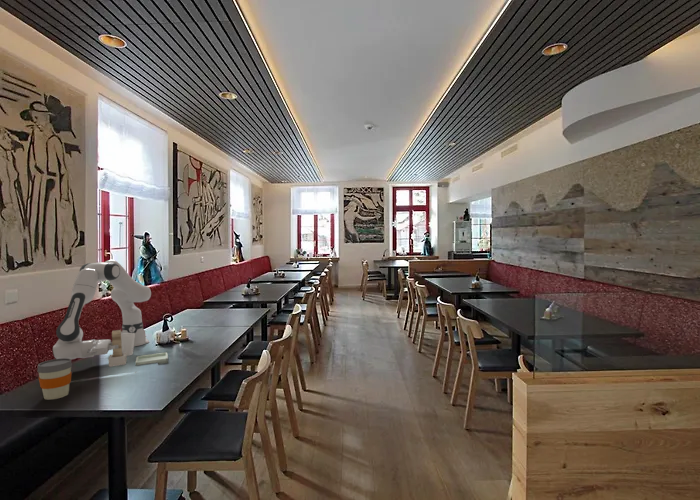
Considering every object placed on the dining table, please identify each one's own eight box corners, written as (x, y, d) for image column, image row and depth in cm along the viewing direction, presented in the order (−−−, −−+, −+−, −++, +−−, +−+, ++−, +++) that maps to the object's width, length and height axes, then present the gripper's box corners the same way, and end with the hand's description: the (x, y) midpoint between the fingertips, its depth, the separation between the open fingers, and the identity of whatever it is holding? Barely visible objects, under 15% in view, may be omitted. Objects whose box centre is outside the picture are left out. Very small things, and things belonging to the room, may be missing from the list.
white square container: (110, 364, 231) (110, 354, 231) (126, 362, 234) (126, 352, 234) (108, 368, 224) (108, 358, 223) (125, 366, 227) (125, 356, 227)
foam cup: (127, 358, 241) (126, 336, 240) (113, 358, 243) (112, 336, 242) (139, 354, 250) (138, 332, 250) (125, 353, 252) (124, 332, 252)
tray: (136, 360, 237) (136, 356, 237) (167, 356, 244) (167, 352, 244) (135, 367, 224) (135, 362, 224) (168, 362, 231) (167, 358, 231)
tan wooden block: (114, 363, 230) (112, 330, 229) (122, 362, 231) (120, 329, 231) (113, 365, 226) (111, 332, 226) (121, 363, 228) (120, 331, 227)
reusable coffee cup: (53, 390, 192) (51, 358, 192) (79, 390, 192) (78, 357, 191) (31, 401, 180) (29, 367, 179) (59, 401, 179) (58, 366, 179)
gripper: (86, 347, 214) (116, 343, 219) (92, 338, 232) (120, 335, 238) (86, 359, 214) (117, 355, 220) (92, 350, 232) (120, 346, 238)
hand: (119, 345), depth 229 cm, fingers closed on tan wooden block, 4 cm apart
